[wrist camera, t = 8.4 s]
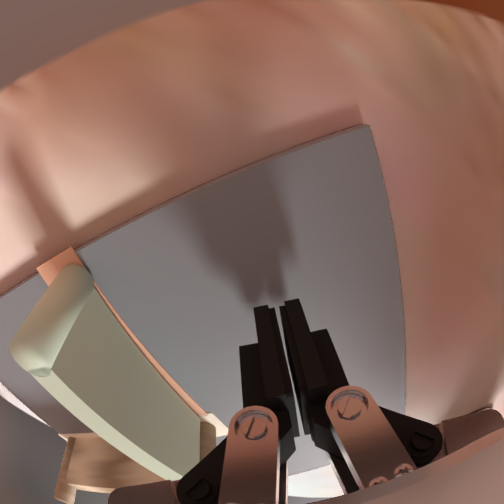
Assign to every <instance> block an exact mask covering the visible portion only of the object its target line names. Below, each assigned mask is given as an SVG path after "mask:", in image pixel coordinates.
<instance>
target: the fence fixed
mask: <svg viewBox="0 0 504 504" xmlns="http://www.w3.org/2000/svg"><path fill="white" fill-rule="evenodd" d="M215 447H216V427H215V426H214V425H213V424H210V423H207V422H200V461H201V460H202V459H203V458H204V457H206V456H207V455H208V454H209V453H210V452H211V451H212V450H213V449H214V448H215ZM164 480H165V479H163V478H162V477H160V476H158V475H157V474H155V473H153V472H152V471H150V470H148V469H147V468H145V467H143V466H142V465H140V464H139V463H137V462H136V461H134V460H133V459H131V458H130V457H128V456H127V455H125V454H124V453H122V452H121V451H119V450H118V449H117V448H115V447H114V446H112V445H111V444H110V443H108V442H107V441H106V440H104V439H103V438H102V437H90V438H74V437H69V438H68V441H67V445H66V449H65V452H64V456H63V460H62V464H61V468H60V472H59V477H58V480H57V485H56V490H55V494H54V498H56V499H58V500H60V501H62V502H64V503H67V504H74V500H75V495H76V489H79V490H85V491H93V492H102V493H111V492H112V491H114V490H115V489H117V488H120V487H126V486H134V485H141V484H147V483H153V482H159V481H164Z"/></svg>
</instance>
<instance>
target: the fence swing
mask: <svg viewBox="0 0 504 504" xmlns="http://www.w3.org/2000/svg"><path fill="white" fill-rule="evenodd" d="M9 350H10V353H11V355H12V357H13V358H14V360H15V361H16V362H17V363H18V364H19V365H20V366H21V367H22V368H23V369H24V370H26V371H27V372H29V373H30V374H31V375H32V376H33V377H34V378H35V379H36V380H37V381H38V382H39V383H40V384H41V385H42V386H43V387H44V388H45V389H46V390H47V391H48V392H49V393H50V394H51V395H52V396H53V397H54V398H55V399H56V400H57V401H59V402H60V403H61V404H62V405H63V406H64V407H65V408H66V409H67V410H69V411H70V412H71V413H72V414H73V415H74V416H75V417H77V418H78V419H79V420H80V421H81V422H83V423H84V424H85V425H86V426H87V427H89V428H90V429H91V430H92V431H94V432H95V433H96V434H98V435H99V436H100V437H102V438H103V439H104V440H106V441H107V442H108V443H110V444H111V445H112V446H114V447H115V448H117V449H118V450H119V451H121V452H122V453H124V454H125V455H127V456H128V457H130V458H131V459H133V460H134V461H136V462H137V463H139V464H140V465H142V466H143V467H145V468H147V469H148V470H150V471H152V472H153V473H155V474H157V475H158V476H160V477H162V478H163V479H165V480H171V481H175V480H180V479H181V478H182V477H183V476H184V475H185V474H186V473H188V472H189V471H190V470H191V469H192V468H193V467H194V466H196V465H197V464H198V463H199V462H200V418H199V417H198V416H197V415H196V414H195V413H194V412H193V411H192V410H191V409H190V407H189V406H188V405H187V404H186V403H185V402H184V401H183V400H182V399H181V398H180V397H179V396H178V395H177V393H176V392H175V391H174V390H173V389H172V388H171V387H170V386H169V385H168V383H167V382H166V381H165V380H164V379H163V378H162V376H161V375H160V374H159V373H158V372H157V371H156V369H155V368H154V367H153V366H152V365H151V363H150V362H149V361H148V360H147V359H146V357H145V356H144V355H143V354H142V352H141V351H140V350H139V349H138V347H137V346H136V345H135V343H134V342H133V341H132V340H131V338H130V337H129V336H128V334H127V333H126V332H125V330H124V329H123V328H122V326H121V325H120V324H119V322H118V321H117V319H116V318H115V317H114V315H113V314H112V312H111V311H110V310H109V308H108V307H107V305H106V304H105V302H104V301H103V300H102V298H101V297H100V295H99V294H98V292H97V291H96V289H95V288H94V281H93V278H92V276H91V274H90V273H89V272H88V271H87V270H86V269H85V268H84V267H82V266H80V265H78V264H68V265H66V266H64V268H63V269H62V270H61V271H60V273H59V274H58V275H57V276H56V278H55V279H54V280H53V282H52V283H51V284H50V286H49V287H48V288H47V290H46V291H45V292H44V294H43V295H42V296H41V298H40V299H39V300H38V302H37V303H36V305H35V306H34V307H33V309H32V310H31V312H30V313H29V315H28V316H27V318H26V319H25V320H24V322H23V323H22V325H21V326H20V328H19V329H18V331H17V333H16V334H15V336H14V337H13V339H12V340H11V342H10V344H9Z"/></svg>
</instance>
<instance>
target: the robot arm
mask: <svg viewBox="0 0 504 504" xmlns="http://www.w3.org/2000/svg"><path fill="white" fill-rule="evenodd" d="M253 309H254V317H255V324H256V332H257V339H258V343H254V344H249V345H243V346H239V356H240V371H241V385H242V399H243V409H241V410H240V411H238V412H237V413H236V414H235V415H234V416H233V417H232V419H231V421H230V424H229V428H228V435H227V437H226V438H225V439H224V440H223V441H222V442H221V443H220V444H219V445H217V446H216V447H215V448H214V449H213V450H212V451H211V452H210V453H209V454H208V455H207V456H206V457H204V458H203V459H202V460H201V461H200V462H199V463H198V464H197V465H196V466H194V467H193V468H192V469H191V470H190V471H189V472H188V473H186V474H185V475H184V476H183V477H182V478H181V479H180V480H175V481H171V480H164V481H159V482H153V483H147V484H141V485H134V486H126V487H120V488H117V489H115V490H114V491H112V492H111V494H110V495H109V497H108V504H287V496H288V459H289V458H290V457H291V456H292V454H293V453H294V452H295V451H296V446H295V441H294V438H295V437H300V433H299V426H298V419H297V412H296V406H295V399H294V393H293V388H292V383H291V378H290V374H289V369H288V365H287V360H286V356H285V351H284V347H283V343H282V338H281V334H280V329H279V325H278V320H277V316H276V312H275V307H273V308H269V307H268V305H263V306H258V307H253ZM279 309H280V315H281V321H282V327H283V333H284V340H285V346H286V352H287V358H288V363H289V367H290V372H291V376H292V381H293V385H294V390H295V394H296V398H297V403H298V407H299V412H300V416H301V421H302V425H303V430H304V434H305V435H309V434H311V439H312V441H314V444H315V446H316V447H318V448H320V449H322V450H324V451H325V452H326V455H327V457H328V460H329V462H330V464H331V466H332V468H333V470H334V473H335V475H336V477H337V479H338V481H339V483H340V486H341V488H342V490H343V492H344V494H345V495H342V496H338V497H334V498H330V499H326V500H321V501H318V502H312V503H307V504H504V419H503V417H502V415H501V414H500V413H499V412H498V411H497V410H493V409H490V408H486V409H483V410H480V411H478V412H475V413H472V414H468V415H465V416H461V417H457V418H453V419H449V420H444V421H441V423H440V424H436V425H432V424H430V423H427V422H424V421H421V420H418V419H415V418H412V417H409V416H406V415H403V414H400V413H397V412H394V411H392V410H389V409H386V408H383V407H380V406H378V405H377V403H376V402H375V400H374V399H373V397H372V395H371V394H370V393H369V392H368V391H367V390H365V389H363V388H362V387H358V386H349V383H348V380H347V378H346V375H345V373H344V370H343V367H342V365H341V362H340V360H339V357H338V355H337V352H336V350H335V347H334V345H333V342H332V340H331V337H330V335H329V332H328V330H327V329H321V330H317V331H313V332H310V329H309V326H308V323H307V320H306V317H305V314H304V311H303V308H302V305H301V303H300V300H299V298H297V299H293V300H288V301H284V305H283V306H279Z"/></svg>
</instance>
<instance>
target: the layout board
mask: <svg viewBox="0 0 504 504" xmlns="http://www.w3.org/2000/svg"><path fill="white" fill-rule="evenodd" d="M68 264H78V265H80V266H82V267H84V268H85V269H86V270H87V271H88V272H89V273H90V274H91V276H92V278H93V281H94V288H95V289H96V291H97V292H98V294H99V295H100V297H101V298H102V300H103V301H104V302H105V304H106V305H107V307H108V308H109V310H110V311H111V312H112V314H113V315H114V317H115V318H116V319H117V321H118V322H119V324H120V325H121V326H122V328H123V329H124V330H125V332H126V333H127V334H128V336H129V337H130V338H131V340H132V341H133V342H134V343H135V345H136V346H137V347H138V349H139V350H140V351H141V352H142V354H143V355H144V356H145V357H146V359H147V360H148V361H149V362H150V363H151V365H152V366H153V367H154V368H155V369H156V371H157V372H158V373H159V374H160V375H161V376H162V378H163V379H164V380H165V381H166V382H167V383H168V385H169V386H170V387H171V388H172V389H173V390H174V391H175V392H176V393H177V395H178V396H179V397H180V398H181V399H182V400H183V401H184V402H185V403H186V404H187V405H188V406H189V407H190V409H191V410H192V411H193V412H194V413H195V414H196V415H197V416H198V417H199V418H200V422H207V423H210V424H213V425H214V426H215V427H216V446H217V445H219V444H220V443H221V442H222V441H223V440H224V439H225V438H226V437H227V435H228V428H229V424H230V421H231V419H232V417H233V416H234V415H235V414H236V413H237V412H238V411H240V410H241V409H243V399H242V385H241V371H240V356H239V346H243V345H249V344H254V343H258V339H257V332H256V324H255V317H254V309H253V307H258V306H263V305H268V307H269V308H273V307H275V312H276V316H277V320H278V325H279V329H280V334H281V338H282V343H283V347H284V351H285V356H286V360H287V365H288V369H289V374H290V378H291V383H292V388H293V393H294V399H295V406H296V412H297V419H298V426H299V433H300V437H295V438H294V441H295V446H296V451H295V452H294V453H293V454H292V456H291V457H290V458H289V459H288V476H290V475H294V474H298V473H302V472H306V471H310V470H313V469H317V468H320V467H323V466H327V465H330V462H329V460H328V457H327V455H326V452H325V451H324V450H322V449H320V448H318V447H316V446H315V444H314V441H312V439H311V434H309V435H305V434H304V430H303V425H302V421H301V416H300V412H299V407H298V403H297V398H296V394H295V390H294V385H293V381H292V376H291V372H290V367H289V363H288V358H287V352H286V346H285V340H284V333H283V327H282V321H281V315H280V309H279V306H283V305H284V301H288V300H293V299H297V298H299V300H300V303H301V305H302V308H303V311H304V314H305V317H306V320H307V323H308V326H309V329H310V332H313V331H317V330H321V329H327V330H328V332H329V335H330V337H331V340H332V342H333V345H334V347H335V350H336V352H337V355H338V357H339V360H340V362H341V365H342V367H343V370H344V373H345V375H346V378H347V380H348V383H349V386H358V387H362V388H363V389H365V390H367V391H368V392H369V393H370V394H371V395H372V397H373V399H374V400H375V402H376V403H377V405H378V406H380V407H383V408H386V409H389V410H392V411H394V412H397V413H400V414H403V415H405V398H406V351H405V327H404V312H403V300H402V289H401V280H400V271H399V263H398V256H397V249H396V242H395V236H394V230H393V224H392V219H391V213H390V208H389V203H388V198H387V193H386V188H385V184H384V180H383V175H382V171H381V167H380V163H379V159H378V155H377V151H376V147H375V144H374V140H373V136H372V133H371V129H370V126H369V125H365V124H360V125H357V126H354V127H351V128H348V129H345V130H342V131H339V132H336V133H333V134H330V135H327V136H324V137H321V138H318V139H316V140H313V141H310V142H307V143H304V144H302V145H299V146H296V147H294V148H291V149H288V150H286V151H283V152H280V153H278V154H275V155H273V156H270V157H267V158H265V159H262V160H260V161H257V162H255V163H252V164H250V165H248V166H245V167H243V168H240V169H238V170H236V171H233V172H231V173H228V174H226V175H224V176H221V177H219V178H217V179H215V180H212V181H210V182H208V183H205V184H203V185H201V186H199V187H197V188H194V189H192V190H190V191H188V192H186V193H184V194H181V195H179V196H177V197H175V198H173V199H171V200H169V201H167V202H164V203H162V204H160V205H158V206H156V207H154V208H152V209H150V210H148V211H146V212H144V213H142V214H140V215H138V216H136V217H134V218H132V219H130V220H128V221H126V222H124V223H123V224H121V225H119V226H117V227H115V228H113V229H111V230H109V231H107V232H106V233H104V234H102V235H100V236H98V237H96V238H94V239H93V240H91V241H89V242H87V243H85V244H84V245H82V246H80V247H78V248H77V249H75V250H73V248H72V247H70V248H68V249H66V250H65V251H63V252H61V253H60V254H58V255H56V256H55V257H53V258H51V259H50V260H48V261H47V262H45V263H43V264H42V265H40V266H39V267H37V268H36V269H37V271H38V272H36V273H35V274H33V275H31V276H30V277H28V278H27V279H25V280H24V281H22V282H20V283H19V284H17V285H16V286H14V287H13V288H11V289H10V290H8V291H7V292H5V293H4V294H2V295H1V296H0V382H1V383H2V384H3V385H4V386H5V387H6V388H7V389H8V390H9V391H10V392H11V393H12V394H14V395H15V396H16V397H17V398H18V399H19V400H20V401H21V402H22V403H23V404H24V405H26V406H27V407H28V408H29V409H30V410H31V411H32V412H34V413H35V414H36V415H37V416H38V417H39V418H41V419H42V420H43V421H44V422H46V423H47V424H48V425H49V426H51V427H52V428H53V429H54V430H56V431H57V432H58V433H60V434H59V436H61V437H62V438H64V439H65V440H66V441H68V438H69V437H74V438H90V437H100V436H99V435H98V434H96V433H95V432H94V431H92V430H91V429H90V428H89V427H87V426H86V425H85V424H84V423H83V422H81V421H80V420H79V419H78V418H77V417H75V416H74V415H73V414H72V413H71V412H70V411H69V410H67V409H66V408H65V407H64V406H63V405H62V404H61V403H60V402H59V401H57V400H56V399H55V398H54V397H53V396H52V395H51V394H50V393H49V392H48V391H47V390H46V389H45V388H44V387H43V386H42V385H41V384H40V383H39V382H38V381H37V380H36V379H35V378H34V377H33V376H32V375H31V374H30V373H29V372H27V371H26V370H24V369H23V368H22V367H21V366H20V365H19V364H18V363H17V362H16V361H15V360H14V358H13V357H12V355H11V353H10V350H9V344H10V342H11V340H12V339H13V337H14V336H15V334H16V333H17V331H18V329H19V328H20V326H21V325H22V323H23V322H24V320H25V319H26V318H27V316H28V315H29V313H30V312H31V310H32V309H33V307H34V306H35V305H36V303H37V302H38V300H39V299H40V298H41V296H42V295H43V294H44V292H45V291H46V290H47V288H48V287H49V286H50V284H51V283H52V282H53V280H54V279H55V278H56V276H57V275H58V274H59V273H60V271H61V270H62V269H63V268H64V266H66V265H68Z"/></svg>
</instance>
